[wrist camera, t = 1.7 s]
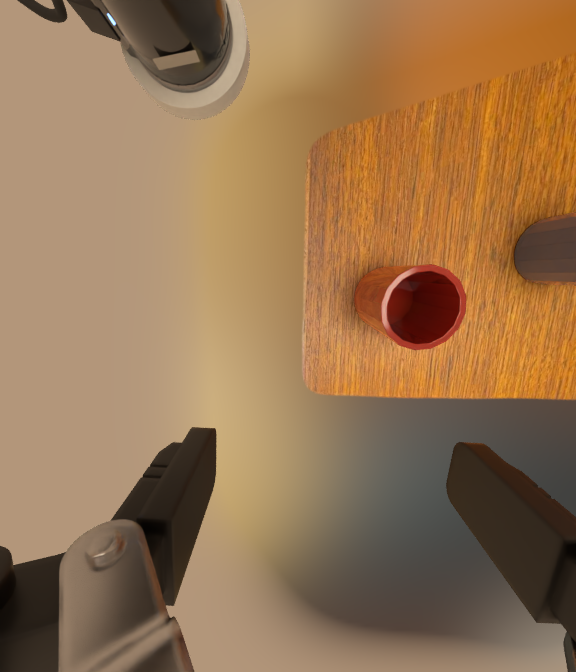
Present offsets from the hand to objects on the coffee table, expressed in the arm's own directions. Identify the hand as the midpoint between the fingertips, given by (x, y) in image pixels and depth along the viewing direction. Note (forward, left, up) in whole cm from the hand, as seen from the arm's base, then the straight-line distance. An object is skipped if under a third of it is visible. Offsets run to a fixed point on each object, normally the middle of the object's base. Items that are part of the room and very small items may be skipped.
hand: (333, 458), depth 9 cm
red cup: (+8, +6, -22) cm, 24 cm away
